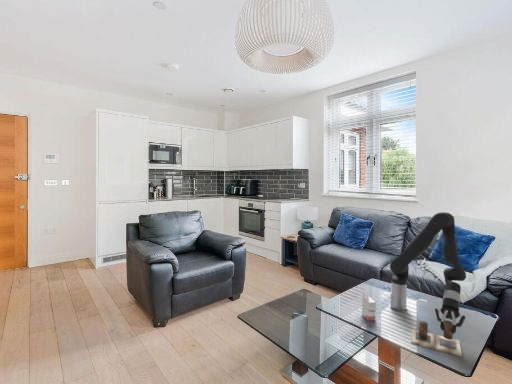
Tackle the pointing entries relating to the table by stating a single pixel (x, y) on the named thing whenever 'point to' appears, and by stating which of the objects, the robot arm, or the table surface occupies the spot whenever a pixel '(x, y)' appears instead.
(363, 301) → the ink cartridge box
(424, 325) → the pin
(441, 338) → the board
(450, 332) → the walnut pin
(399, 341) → the table surface
